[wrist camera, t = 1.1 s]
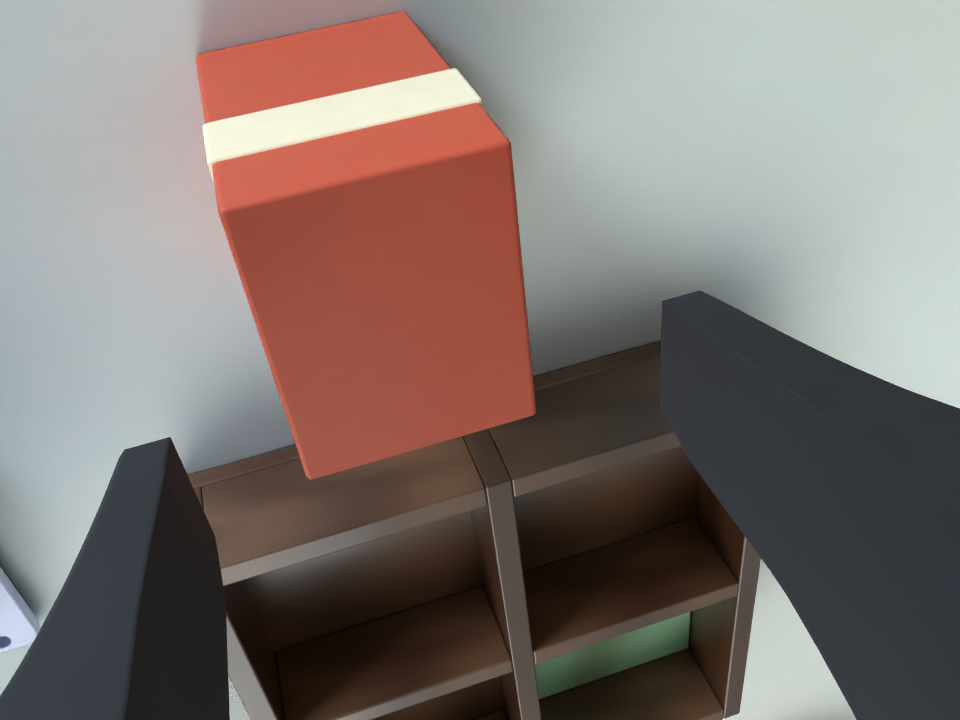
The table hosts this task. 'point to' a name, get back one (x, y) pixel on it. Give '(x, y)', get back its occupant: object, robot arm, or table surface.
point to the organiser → (491, 570)
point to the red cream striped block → (370, 237)
